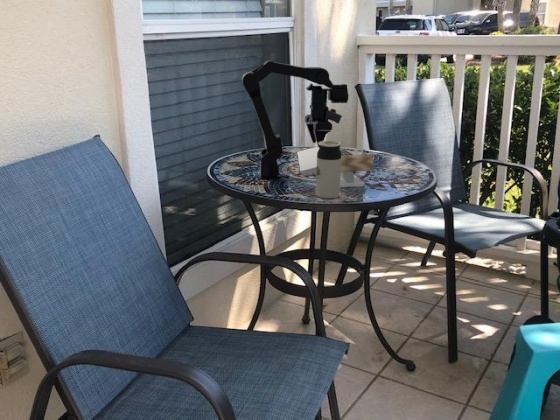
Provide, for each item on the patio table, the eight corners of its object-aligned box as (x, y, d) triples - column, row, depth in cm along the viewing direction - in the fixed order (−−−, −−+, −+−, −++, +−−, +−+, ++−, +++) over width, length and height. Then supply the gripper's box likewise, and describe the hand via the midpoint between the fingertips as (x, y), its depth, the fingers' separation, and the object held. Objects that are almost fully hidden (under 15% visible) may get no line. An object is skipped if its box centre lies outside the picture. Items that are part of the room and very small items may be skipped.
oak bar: (368, 168, 210) (369, 154, 209) (372, 170, 206) (373, 157, 205) (321, 169, 207) (322, 155, 206) (324, 172, 203) (324, 158, 202)
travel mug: (339, 192, 195) (341, 140, 189) (339, 199, 187) (342, 145, 182) (315, 192, 195) (317, 140, 190) (315, 198, 188) (317, 145, 182)
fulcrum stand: (337, 186, 202) (338, 174, 200) (328, 178, 213) (329, 166, 211) (364, 185, 203) (365, 173, 202) (354, 177, 215) (354, 165, 213)
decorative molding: (303, 182, 218) (328, 176, 217) (300, 171, 216) (326, 164, 215) (299, 162, 250) (322, 156, 249) (297, 151, 249) (319, 146, 248)
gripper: (347, 106, 200) (344, 150, 205) (333, 99, 217) (331, 140, 222) (316, 106, 198) (314, 150, 203) (305, 99, 215) (303, 140, 220)
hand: (317, 145), depth 212 cm, fingers open, 9 cm apart
